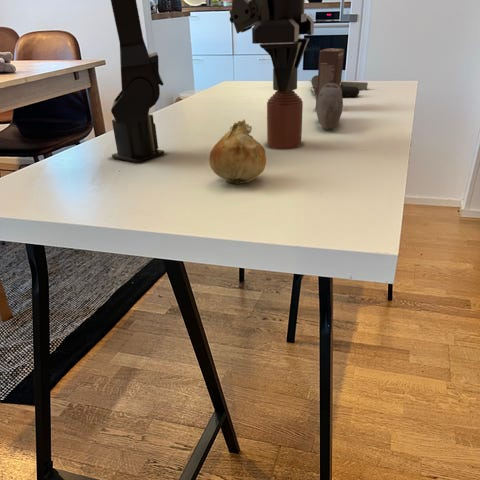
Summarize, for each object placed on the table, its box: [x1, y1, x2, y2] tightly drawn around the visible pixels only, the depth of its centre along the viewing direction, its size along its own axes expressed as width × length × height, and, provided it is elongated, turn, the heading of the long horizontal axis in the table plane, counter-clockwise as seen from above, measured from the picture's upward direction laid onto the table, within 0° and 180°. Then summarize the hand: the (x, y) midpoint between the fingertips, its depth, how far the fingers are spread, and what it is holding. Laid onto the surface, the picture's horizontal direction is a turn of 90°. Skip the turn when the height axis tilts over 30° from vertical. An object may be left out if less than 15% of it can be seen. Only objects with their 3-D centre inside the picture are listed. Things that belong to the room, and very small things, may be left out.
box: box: [315, 48, 345, 111], centre depth 107 cm, size 6×4×12 cm
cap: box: [272, 67, 298, 92], centre depth 79 cm, size 4×4×3 cm
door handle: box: [310, 74, 369, 98], centre depth 129 cm, size 3×20×16 cm
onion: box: [208, 118, 267, 185], centre depth 66 cm, size 8×8×8 cm
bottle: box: [266, 90, 304, 150], centre depth 81 cm, size 6×6×12 cm
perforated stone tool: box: [315, 83, 344, 130], centre depth 94 cm, size 15×5×7 cm, turn 168°
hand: (285, 89), depth 80 cm, fingers closed on cap, 4 cm apart
